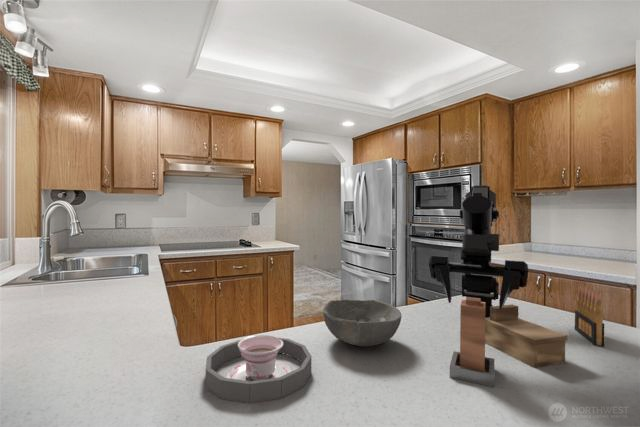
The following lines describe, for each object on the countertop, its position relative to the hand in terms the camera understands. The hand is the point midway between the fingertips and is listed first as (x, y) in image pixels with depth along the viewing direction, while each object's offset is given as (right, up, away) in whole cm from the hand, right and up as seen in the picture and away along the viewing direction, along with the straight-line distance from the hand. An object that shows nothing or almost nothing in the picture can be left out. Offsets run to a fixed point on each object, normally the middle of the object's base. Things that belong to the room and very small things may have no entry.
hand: (474, 304), depth 66 cm
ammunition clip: (+34, -12, +13) cm, 38 cm away
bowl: (-21, -11, +10) cm, 26 cm away
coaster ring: (-42, -11, -5) cm, 44 cm away
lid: (+13, -7, +5) cm, 15 cm away
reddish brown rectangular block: (-2, -11, -4) cm, 13 cm away
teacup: (-42, -12, -6) cm, 44 cm away
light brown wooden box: (+13, -11, +5) cm, 18 cm away
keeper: (-2, -11, -4) cm, 13 cm away
